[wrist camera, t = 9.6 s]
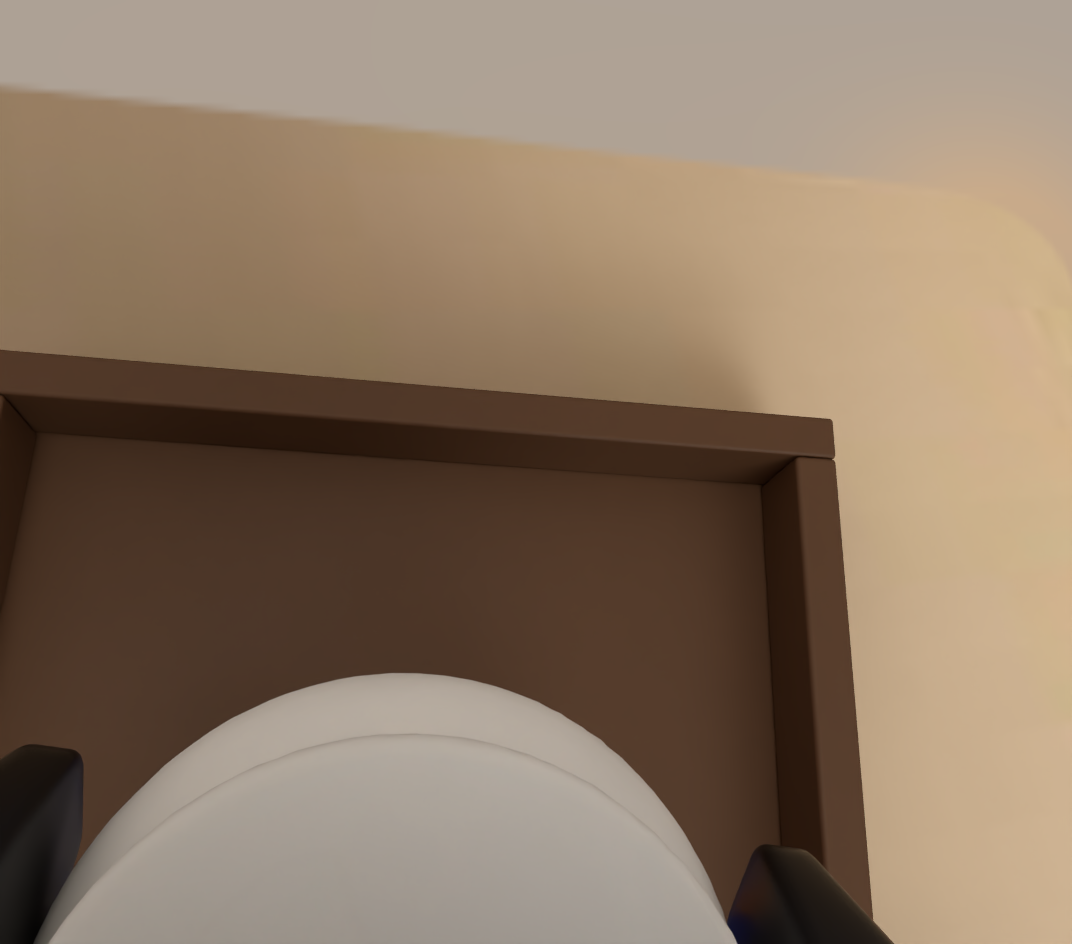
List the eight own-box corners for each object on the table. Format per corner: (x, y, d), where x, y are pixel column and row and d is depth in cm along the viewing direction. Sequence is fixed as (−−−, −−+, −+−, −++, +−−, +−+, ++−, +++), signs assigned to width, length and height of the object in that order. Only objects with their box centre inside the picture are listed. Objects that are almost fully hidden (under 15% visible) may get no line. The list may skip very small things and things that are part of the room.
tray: (854, 1550, 13) (938, 1676, 11) (-253, 1642, 11) (-383, 1813, 9) (784, 460, 18) (833, 417, 16) (11, 401, 17) (-38, 345, 15)
